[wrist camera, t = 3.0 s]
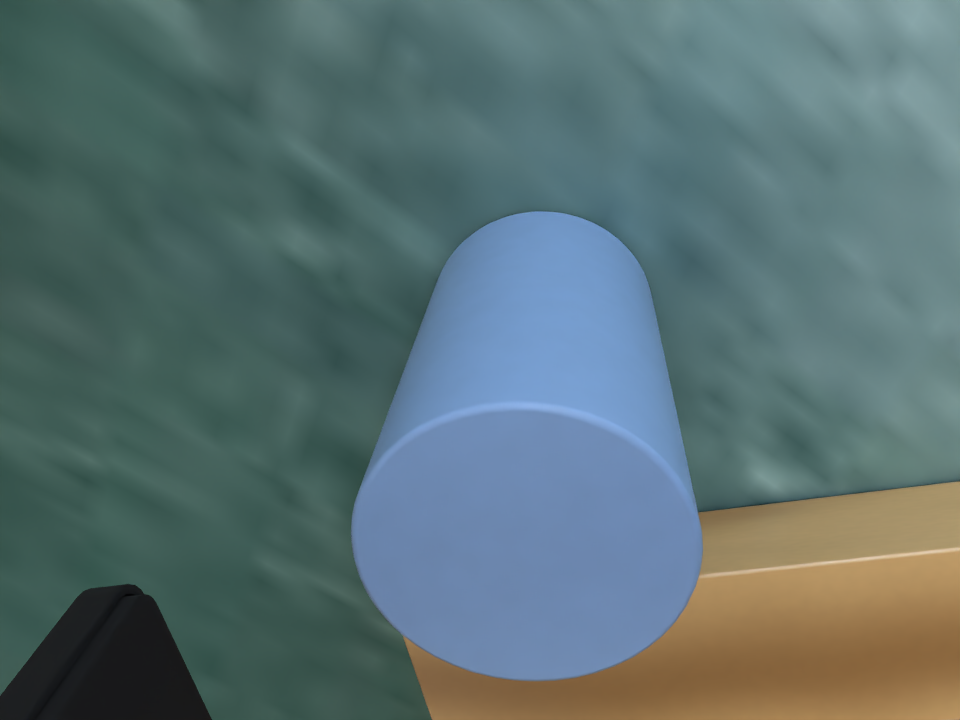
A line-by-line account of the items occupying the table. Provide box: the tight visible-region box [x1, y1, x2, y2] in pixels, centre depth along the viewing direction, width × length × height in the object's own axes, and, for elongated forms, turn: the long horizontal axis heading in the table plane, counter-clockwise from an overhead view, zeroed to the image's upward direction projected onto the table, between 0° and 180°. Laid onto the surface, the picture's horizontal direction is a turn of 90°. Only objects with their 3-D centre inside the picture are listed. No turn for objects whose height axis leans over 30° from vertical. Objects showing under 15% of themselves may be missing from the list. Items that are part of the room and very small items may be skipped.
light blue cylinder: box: [351, 212, 703, 681], centre depth 13 cm, size 4×4×7 cm
